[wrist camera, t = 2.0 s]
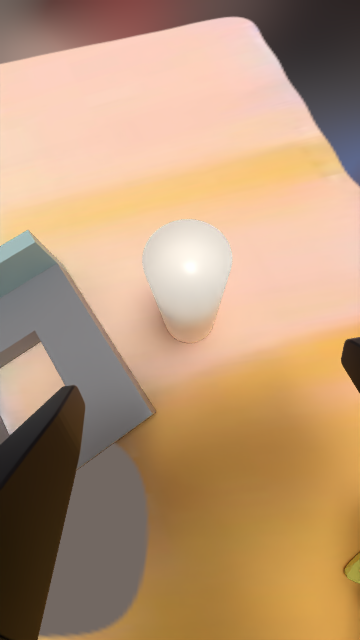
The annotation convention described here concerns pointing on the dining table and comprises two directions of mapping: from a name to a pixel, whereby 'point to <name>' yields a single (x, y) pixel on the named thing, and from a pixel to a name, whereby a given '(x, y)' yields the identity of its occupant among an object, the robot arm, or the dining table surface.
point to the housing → (66, 342)
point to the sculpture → (353, 569)
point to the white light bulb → (187, 275)
